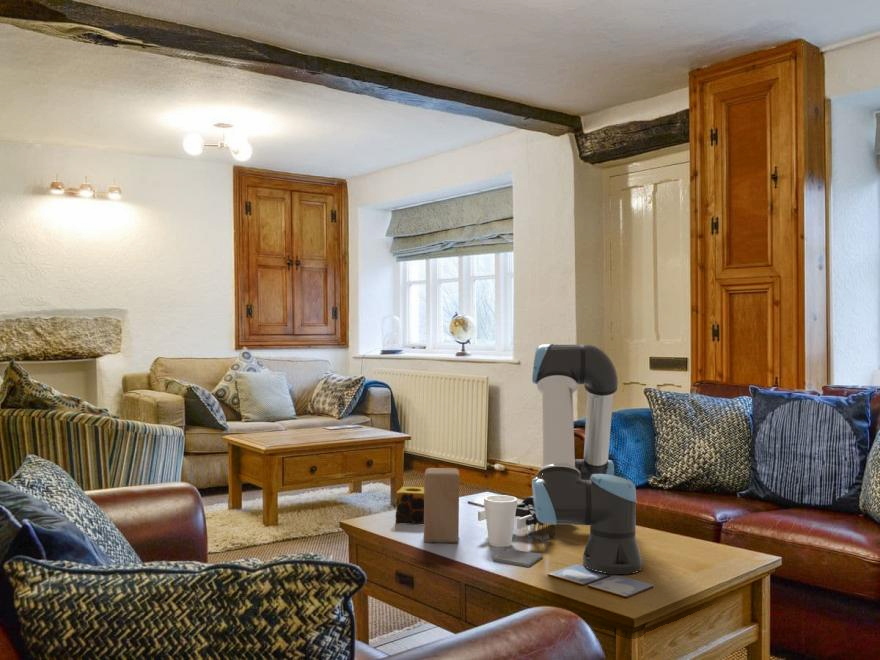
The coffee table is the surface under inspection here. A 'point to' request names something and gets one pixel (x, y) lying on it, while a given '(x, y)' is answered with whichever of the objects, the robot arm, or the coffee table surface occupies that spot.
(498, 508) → the foam cup
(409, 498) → the giraffe print tissue box
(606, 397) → the robot arm
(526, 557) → the slate coaster
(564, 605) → the coffee table surface
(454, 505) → the block
